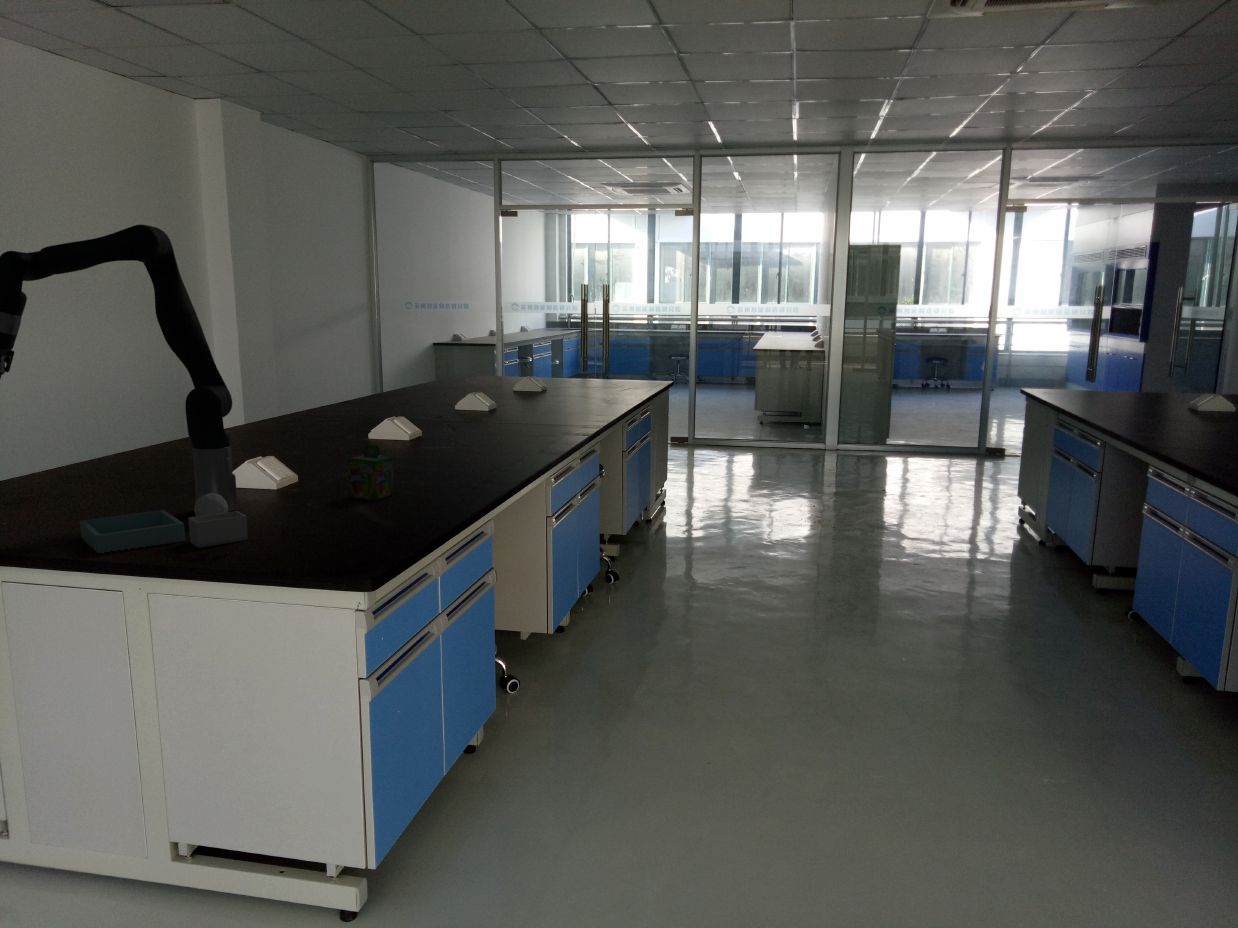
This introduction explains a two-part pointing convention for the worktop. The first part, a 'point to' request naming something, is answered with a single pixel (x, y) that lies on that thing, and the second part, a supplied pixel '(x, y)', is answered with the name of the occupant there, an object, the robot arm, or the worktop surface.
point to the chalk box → (370, 475)
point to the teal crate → (132, 531)
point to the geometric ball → (210, 505)
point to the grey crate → (218, 529)
